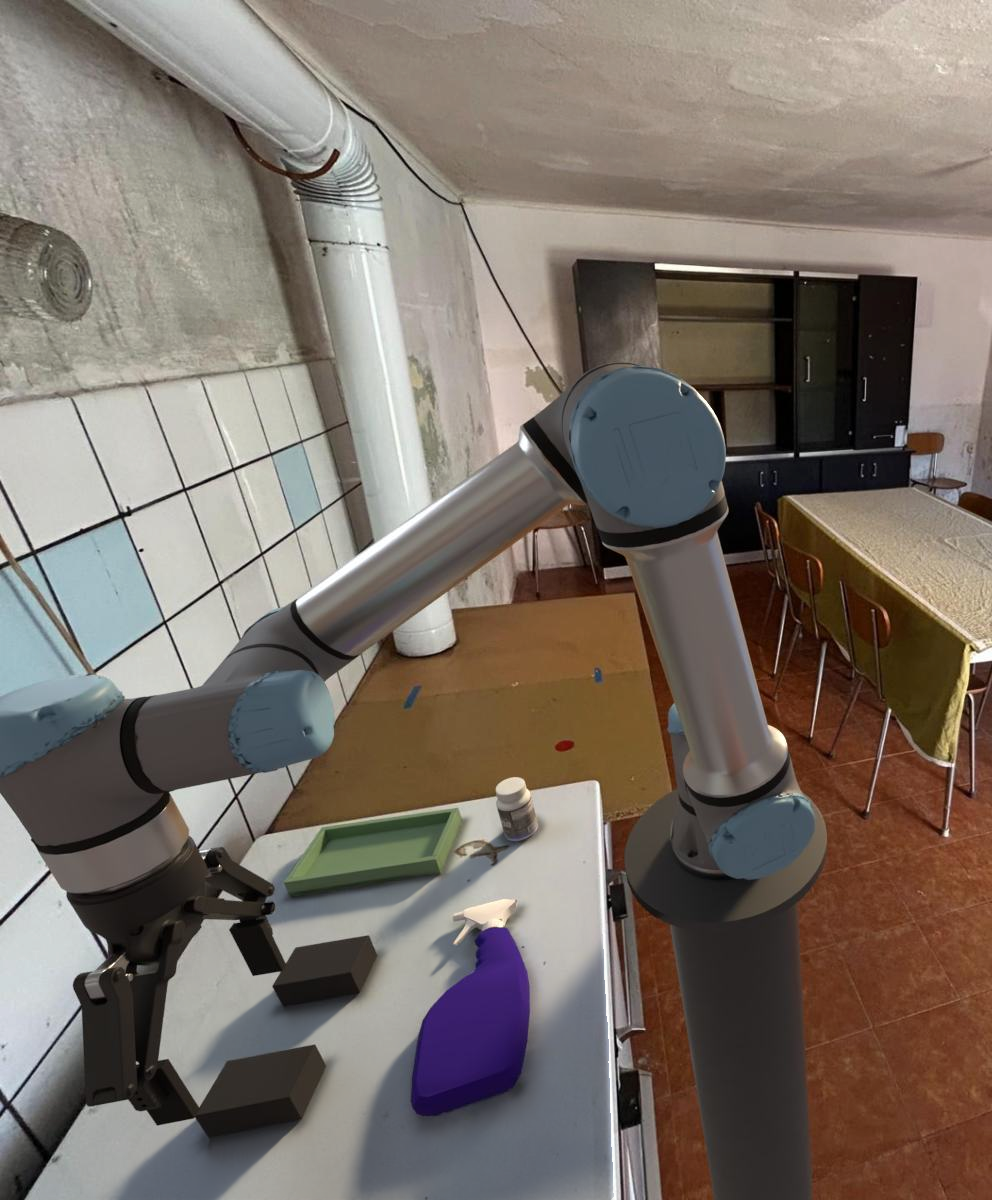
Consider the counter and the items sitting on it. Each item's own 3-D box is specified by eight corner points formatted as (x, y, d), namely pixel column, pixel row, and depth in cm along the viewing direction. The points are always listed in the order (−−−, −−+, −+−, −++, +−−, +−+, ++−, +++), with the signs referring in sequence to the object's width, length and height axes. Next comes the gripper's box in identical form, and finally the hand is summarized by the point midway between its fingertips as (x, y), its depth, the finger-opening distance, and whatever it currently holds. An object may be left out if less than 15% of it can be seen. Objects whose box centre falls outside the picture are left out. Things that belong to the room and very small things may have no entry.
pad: (326, 1066, 67) (315, 1043, 66) (301, 1119, 63) (289, 1097, 61) (240, 1082, 66) (226, 1060, 65) (208, 1138, 62) (193, 1116, 60)
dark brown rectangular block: (377, 955, 79) (369, 934, 78) (360, 993, 75) (350, 972, 73) (305, 967, 78) (295, 947, 77) (282, 1007, 73) (271, 986, 72)
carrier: (462, 820, 100) (458, 807, 99) (440, 873, 91) (435, 859, 90) (327, 840, 97) (321, 827, 96) (290, 897, 88) (283, 882, 87)
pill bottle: (500, 830, 98) (487, 785, 95) (531, 815, 101) (519, 770, 98) (511, 847, 95) (499, 801, 91) (543, 830, 98) (532, 785, 94)
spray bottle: (523, 1068, 64) (532, 883, 85) (397, 1111, 60) (439, 908, 82) (529, 1087, 65) (536, 900, 86) (406, 1131, 61) (445, 925, 83)
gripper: (182, 770, 63) (260, 929, 71) (-92, 1021, 40) (69, 1212, 49) (269, 760, 64) (335, 918, 72) (49, 998, 41) (183, 1188, 50)
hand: (229, 1036), depth 60 cm, fingers open, 13 cm apart
